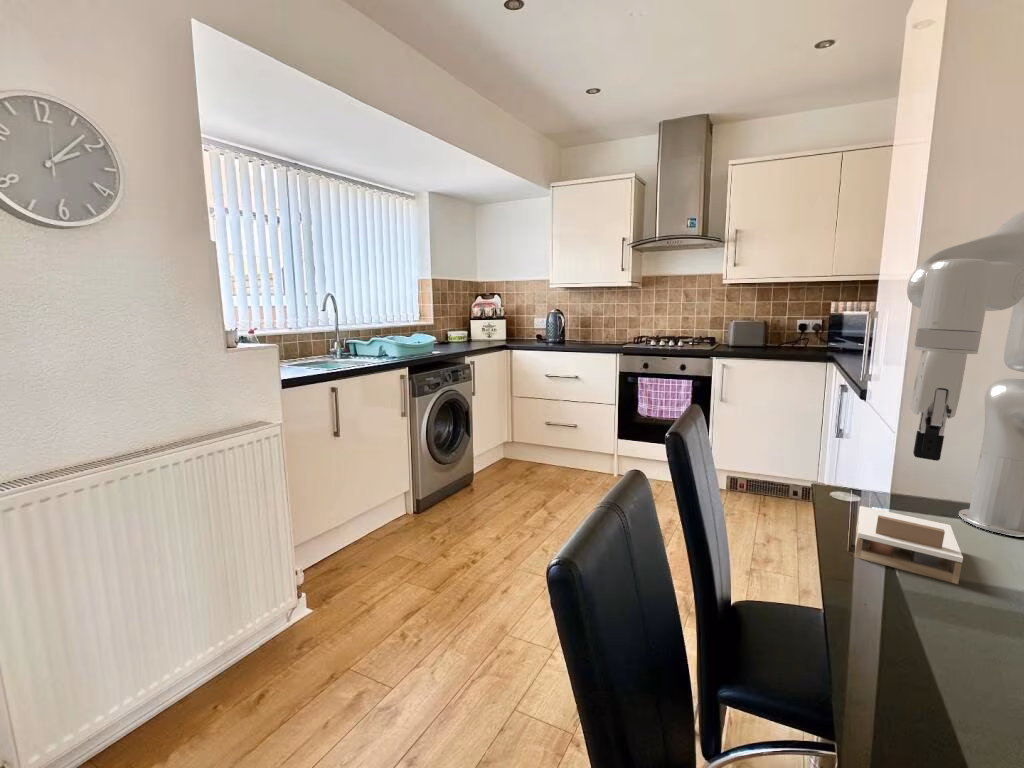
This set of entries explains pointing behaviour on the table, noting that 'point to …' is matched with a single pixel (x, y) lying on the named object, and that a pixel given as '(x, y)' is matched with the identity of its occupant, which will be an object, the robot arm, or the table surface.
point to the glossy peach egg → (881, 548)
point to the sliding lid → (908, 533)
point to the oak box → (908, 561)
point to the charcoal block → (925, 559)
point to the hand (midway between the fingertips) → (926, 457)
